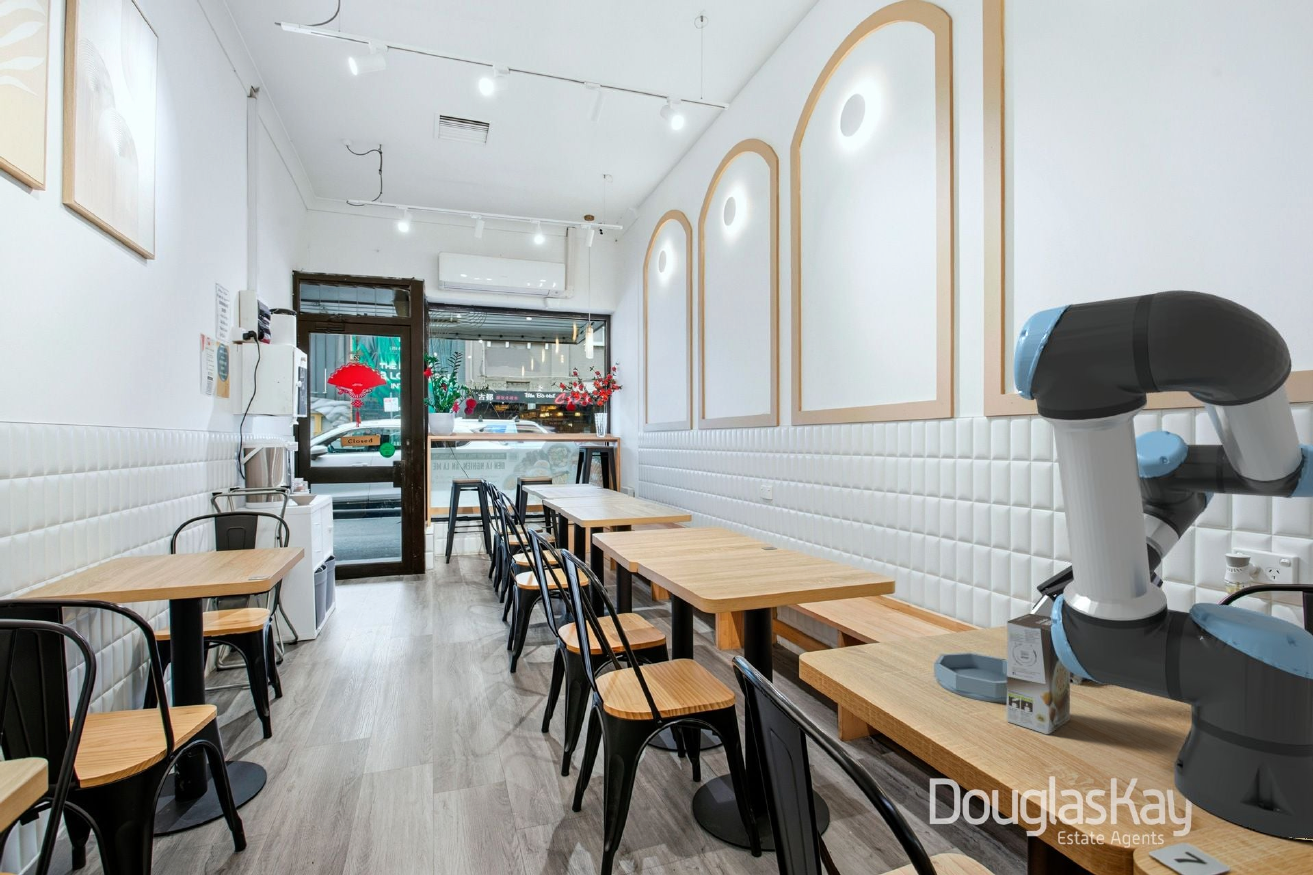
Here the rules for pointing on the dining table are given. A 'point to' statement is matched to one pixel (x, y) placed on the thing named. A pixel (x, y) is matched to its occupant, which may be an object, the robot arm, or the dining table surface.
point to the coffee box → (1035, 676)
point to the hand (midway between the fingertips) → (1060, 640)
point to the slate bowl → (973, 676)
